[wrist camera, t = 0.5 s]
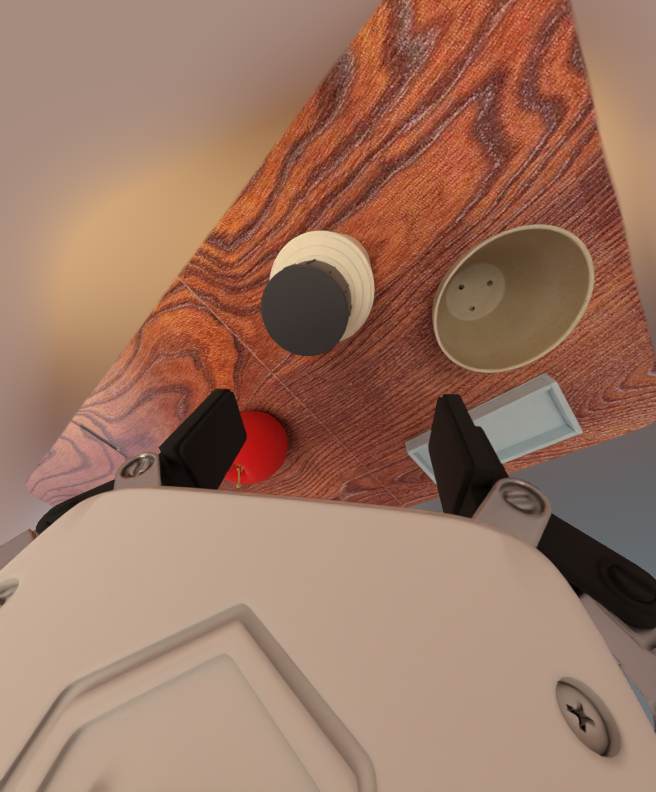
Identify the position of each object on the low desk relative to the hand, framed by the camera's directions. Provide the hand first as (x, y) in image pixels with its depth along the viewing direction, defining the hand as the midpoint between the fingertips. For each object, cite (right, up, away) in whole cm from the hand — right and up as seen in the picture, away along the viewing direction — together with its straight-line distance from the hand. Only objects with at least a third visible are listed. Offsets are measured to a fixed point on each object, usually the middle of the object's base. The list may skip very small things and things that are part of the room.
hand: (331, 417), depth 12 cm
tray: (+19, -4, +20) cm, 28 cm away
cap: (-1, +5, 0) cm, 5 cm away
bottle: (+1, +13, +13) cm, 18 cm away
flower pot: (+14, +11, +12) cm, 21 cm away
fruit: (-10, -3, +25) cm, 27 cm away
